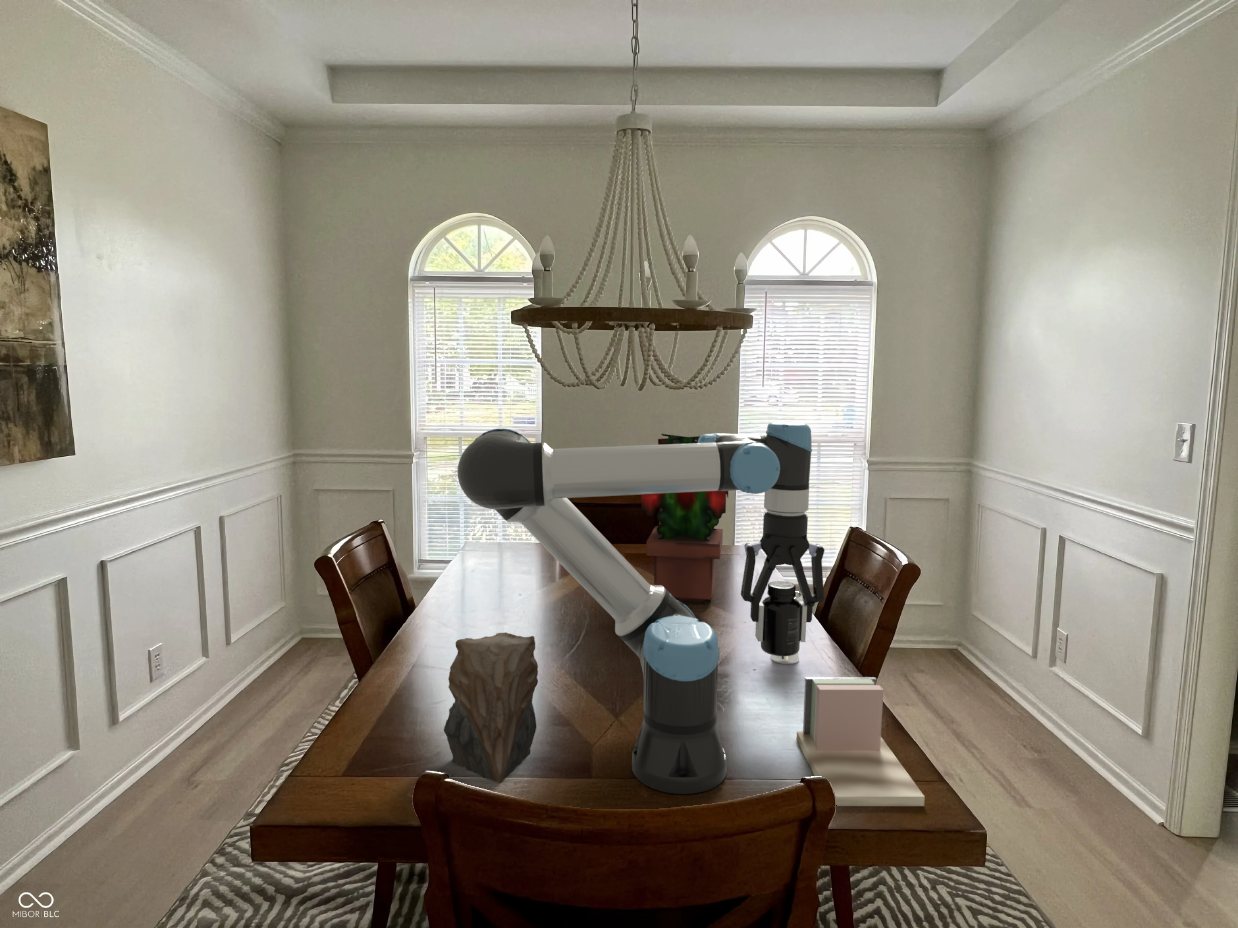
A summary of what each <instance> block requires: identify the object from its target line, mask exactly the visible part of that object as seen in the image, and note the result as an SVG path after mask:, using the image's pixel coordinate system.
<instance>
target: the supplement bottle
mask: <svg viewBox="0 0 1238 928" xmlns="http://www.w3.org/2000/svg"><path fill="white" fill-rule="evenodd" d="M796 591H797V590H796V584H794V583H793V582H790V581H782V580H781V581H779V580H776V581H769V582H768V584H767V597H765V598H764V599H763V600H762V601H761V602H762V603H763V605H764V618H763V641H762V642H760V648H761V650H762V651H763V652H764V653H765V654H769V655H770V656H771V655H775V656H792V655H795V654H797V653H798V654H799V652H800V648H801V647H800V646H801V641H800V623H801V605H800V603H799V601H798V600H796V599H795V598H794V597H795V596H796Z"/></svg>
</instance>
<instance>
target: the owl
mask: <svg viewBox="0 0 1238 928" xmlns="http://www.w3.org/2000/svg"><path fill="white" fill-rule="evenodd" d="M455 649H456V650H457V653H456V656H455V657H454V660H453V661H452V664H451V665H450V667H449V668H450V669H449V672H448V673H449V675H448V689H449V691H450V693H451V695H452V697H453V698H454V702H453V703H452V705H451V706H450V708H449V709H448V712H449V713H448V716H447V720H446V721H445V725H444V728H443V732H444V734H445V736H446V738H447V742H448V745H449V750H450V752H451V754H452V760H451V761H452V763H453V764H455V765H457V766H459V767H464V768H465V769H466V770H467V771H471V772H473V773H475V774H478V775H480V777H482V778H484V779H488V780H492V781H493V782H495V783H498V784H502V783H503V781H504V780H505V779H506V778H507V777H508V776H509V775H510V774H511V773H513V772H514V770H515V769H516V767H517V766H519V765H521V764H522V762H523V760H524V759H525V758H527V757H528V756H529V755H530V754H531V747H532V745H533V741H534V739H535V736H536V735H535V734H536V732H537V718H536V713H535V708H534V704H533V699H534V692H535V689H536V687H537V685H538V683H539V679H538V675H539V670H538V669H539V666H538V665H539V663H538V661H537V659H536V658H535V655H534V654H535V653H534V652H535V650H536V641H535V636H533V635H531V636H530V635H529V636H522V635H516V634H512V633H508V632H497V633H496V634H495V635H491V636H483V637H480V638H471V637H470V638H469V637H465V638H461V639H457V640H456V641H455Z"/></svg>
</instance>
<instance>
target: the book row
mask: <svg viewBox="0 0 1238 928" xmlns="http://www.w3.org/2000/svg"><path fill="white" fill-rule="evenodd" d="M883 702H884V688H883V687H882V686H881V685H880V684H876V685H874V682H873V681H872V680H871V679H812V697H811V721H810V736H811V737H812V739H813V740H814V741H815V742H814V745H815V747H816V749H817V750H880V743H881V737H882V723H883V720H882V719H883V704H884V703H883Z"/></svg>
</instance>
